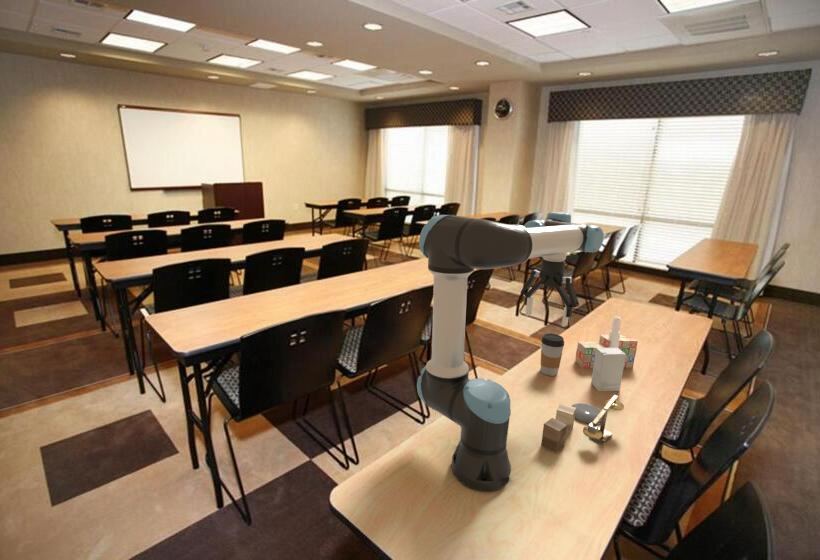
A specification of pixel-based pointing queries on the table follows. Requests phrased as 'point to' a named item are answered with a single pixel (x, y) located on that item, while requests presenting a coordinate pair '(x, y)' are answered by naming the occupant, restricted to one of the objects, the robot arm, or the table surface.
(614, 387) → the skincare box
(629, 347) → the stack of blocks
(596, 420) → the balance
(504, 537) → the table surface
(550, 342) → the coffee cup
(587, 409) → the plate
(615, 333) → the cosmetic bottle
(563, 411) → the maple block
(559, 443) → the walnut block
